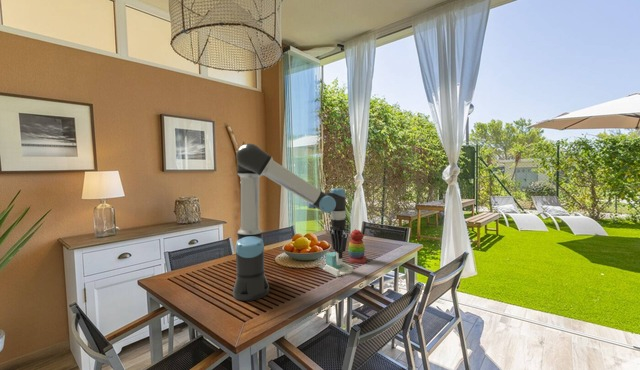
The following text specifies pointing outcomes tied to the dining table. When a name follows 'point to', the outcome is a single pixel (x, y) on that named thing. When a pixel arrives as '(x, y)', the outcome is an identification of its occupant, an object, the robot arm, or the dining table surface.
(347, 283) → the dining table surface
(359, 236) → the stacking bear
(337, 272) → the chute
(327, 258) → the block
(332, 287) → the dining table surface
